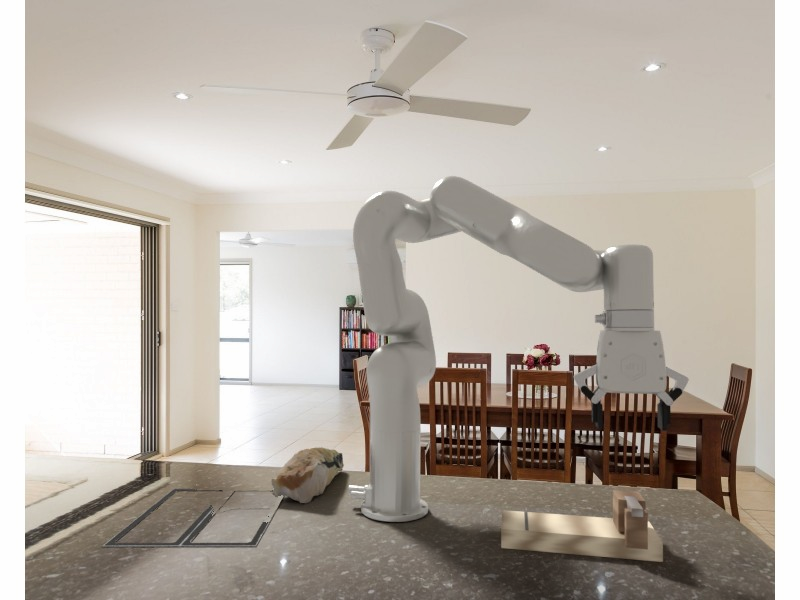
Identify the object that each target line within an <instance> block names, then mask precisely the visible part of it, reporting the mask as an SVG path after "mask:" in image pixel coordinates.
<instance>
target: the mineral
mask: <svg viewBox="0 0 800 600" xmlns="http://www.w3.org/2000/svg"><path fill="white" fill-rule="evenodd" d="M344 466H345V464H344V460H343V453H342V452H338V451H337V450H336V449H329V448H325V447H319V446H318V447H313V448H312V447H311V448H305V449H301V450H299V451H298V452H296V453H294V454H293V456H292V457H290V459H289V460H288V461H287V462H286V463H284V466H282V467H281V468H280V469H278V471H277V473H276V475H275V476H274V478H272V479H271V486H272V489H274V491H271V492H272V493H271V494H272V495H273V496H274V497H275V498H278V496H281V495H283V496H286V497H288V498H290V499H292V500H294V501H297V502H299V503H300V504H301V503H305V504H307V503H310V502H311V501H312V499H313V498H314V497H318V496H319V495H322V494H324V491H325V489H326V487H328V486H329V485H330V484H331V482H332V481H333V479H334V478H335V476H338V474H340V472H338V471H341V472H342V471H343V470H344V469H343V468H344Z"/></svg>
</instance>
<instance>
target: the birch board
mask: <svg viewBox="0 0 800 600" xmlns="http://www.w3.org/2000/svg"><path fill="white" fill-rule="evenodd" d="M501 512H502V513H501V528H500V530H501V533H500V534H501V535H500V541H501V542H500V544H501V545H500V547H501V549H509V550H511V549H512V550H520V551H521V550H523V551H534V552H544V553H545V552H546V553H555V554H556V553H557V554H565V555H566V554H567V555H568V554H569V555H580V556H588V557H589V556H590V557H601V558H603V557H604V558H612V559H623V560H624V559H626V560H636V561H645V562H646V561H648V562H659V563H663V562H664V547H663V546H664V542H663V540H662V539H661V537H660V536H659V534H658V532H657V531H656V530H655V528H654V527H653V525H652V523H651V522H650V521H649V520H648V549H636V548H626V546H625V532H618V530H617V528H616V526H615V524H614V522H613V517H612V518H611V517H601V516H587V515H574V514H559V513H547V512H534V511H533V512H531V511H519V510H504V509H502V510H501Z"/></svg>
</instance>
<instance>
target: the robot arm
mask: <svg viewBox="0 0 800 600" xmlns="http://www.w3.org/2000/svg"><path fill="white" fill-rule="evenodd" d="M352 232H353V233H352V238H353V240H352V241H353V247H354V248H353V249H354V253H355V258H356V263H357V269H358V279H359V286H360V291H361V296H362V297H361V299H362V305H363V311H364V312H363V313H364V317H365V323H366V325H367V326H368V328H369V329H370V331H371V332H373V333H375V334H376V335H379V336H385V337H388V340H389V343H385V344H383V345H381V346H379V347H378V348H376V349H375V350H374V351H373V353H372V354H371V355H370V357H369V359H368V362H367V365H366V381H367V389H368V395H369V396H368V397H369V410H370V411H369V413H370V414H369V415H370V419H369V426H370V427H369V428H370V429H369V431H370V433H369V484H365V485H364V486H359V485H355V484H354V485H353V484H349V485H348V487H347V488H348V489H347V494H348V496H350V499H356V500H361V499H362V501H363V502H361V505H360V511H361V514H363V515H364V516H365V517H366V518H369V519H372V520H375V521H380V522H387V523H388V522H389V523H402V522H411V521H415V520H419V519H421V518H423V517H424V516H426V515H427V514H428V512H429V504H428V503H427V502H426V501H425V500H424V499H421V435H422V433H421V432H422V431H421V407H420V401H419V394H418V388H422V387H423V386H426V385H427V384H428V383H429V382H430V381H431V380H432V379H433V377H434V375H435V374H436V373H435V372H436V370H437V369H436V368H437V356H436V351H435V344H434V339H433V338H434V337H433V332H432V327H431V321H430V320H431V319H430V314H429V310H428V308H427V305H426V303H425V301H424V299H423V298H422V297H421V296H420V294H418V293H417V292H416V291H413V290H411V289H408V288H407V287H406V286H407V285H406V282H405V278H404V272H403V265H402V260H401V256H400V254H399V251H398V248H397V245H396V240H398V241H401V242H405V243H409V244H410V243H411V244H414V243H417V244H418V243H423V242H426V241H430V240H435V239H438V238H442V237H446V236H450V235H453V234H457V233H460V232H462V233H465V234H466V235H468V236H469V237H471V238H473V239H475V240H477V241H478V242H480V243H481V244H483V245H485V246H487V247H489V248H490V249H491V250H494V251H495V252H497V253H499V254H500V255H503V256H508V257H510V258H511V259H514V260H515V261H517V262H519V263H521V264H523V265H524V266H526V267H527V268H529V269H532V270H533V271H535V272H536V273H538V274H540V275H542V276H544V277H545V278H546V279H548V280H550V281H552V282H553V283H555V284H557V285H559V286H560V287H562V288H565V289H566V290H569V291H571V292H575V293H587V292H593V291H600V290H603V311H602V313H600V314H594V323H595V324H600V325H602V326H603V327H604V329H603V330H602V329H601V330H599V334H598V339H597V341H598V342H597V348H596V349H597V350H596V363H595V364H594V365H591V366H590V367H587V368H585V369H584V370H581V371H580V372H577V373H576V374H574V375H573V379H574V382H575V383H576V384H577V385H576V386H577V387H578V388H579V391H580V392H581V393H582V394H583V396H585V397H586V398H587V399H588V400H589V401H590V402H591V423H594V424H595V427H596V428H597V429H598V430H602V429H603V428H604V419H603V418H604V415H603V404H602V403H601V401H602V399H603V398H604V396H606V394H607V393H608V394H609V393H611V394H636V395H637V394H639V395H640V394H641V395H644V394H645V395H655V396H656V397H657V398H658V399H659V402H658V403H657V411H656V412H657V428H659V429H660V430H661V431H663V432H668V426H671V421H672V420H671V416H672V415H671V413H672V412H671V406H673V404H674V402H675V401H677V400H678V398H680V396H682V395H683V392H684V390H685V388H686V386H687V385H688V382H689V380H690V379H689V377H687V376H686V375H684V374H682V373H680V372H679V371H678V372H677V371H676V370H673V369H671V368H670V367H668V366H666V357H665V350H664V344H663V342H664V341H663V338H662V333H661V330H655V298H654V292H655V291H654V255H653V254H654V253H653V251H652V249H651V247H649V246H647V245H643V244H619V245H615V246H610V247H608V248H606V249H605V250H603V249H601V250H598V249H596V250H595V249H594V248H592V247H591V246H589V244H587V243H584V242H583V241H580V240H579V239H577V238H575V237H574V236H571V235H569V234H567V233H565V232H564V231H562V230H561V229H558V228H557V227H554V226H553V225H550V224H549V223H547V222H544V221H543V220H541V219H539V218H538V217H536V216H533V215H531V214H530V213H529V212H528V211H526V210H524V209H523V208H522V207H521V208H520V207H519V206H517V205H515V204H513V203H511V202H509V201H507V200H505V199H504V198H502V197H500V196H498V195H496V194H494V193H492V192H490V191H488V190H486V189H484V188H483V187H481V186H479V185H477V184H475V183H474V182H471V181H470V180H468V179H466V178H463V177H460V176H456V175H449V176H444V177H442V178H441V179H439V180H438V181H437V182H436V183H435V184H434V186H433V187H432V189H431V191H430V196H429V198H425V199H422V200H416V199H414V198H412V197H410V196H409V195H407V194H404V193H402V192H399V191H395V190H383V191H379V192H378V193H375V194H373V195H371V197H369V198H368V199H367V200H366V201H365V202H364V203H363V204H362V206H361V207H360V209H359V210H358V212H357V215H356V217H355V220H354V223H353V228H352ZM593 376H595V382H596V388H595V389H594V390H593V391H592V390H591V389H590V388H589V387H588V386H587V384H586V382H585V381H586V379H588V378H590V377H593ZM667 377H669V378H671V379H672V380H674V382H675V383H674V385H673V387H672V388H671V389H669V391H668V392H666V390H667V383H668V382H667V379H668V378H667Z"/></svg>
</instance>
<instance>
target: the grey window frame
mask: <svg viewBox="0 0 800 600" xmlns="http://www.w3.org/2000/svg"><path fill="white" fill-rule="evenodd" d="M195 489H196V491H195ZM197 489H198V488H172V489H171V490H170V491H169V492H168V493H166V494H165V495H164V496H162V497H161V498H160V499H159V500H158V501H156V502H155V503H154V504H153V505H151V506H150V507H149V508H147V510H145V511H144V512H143V513H141V514H140V515H139V516H137V517H136V518H135V519H134V520H133V521H132V522H130V523H129V524H127V525H126V526H125V527H124V528H123V529H122V530H120V531H119V532H118V533H117V534H115V535H114V536H113V537H111V538H110V539H109V540H107V542H106V543H104V544H103V545H102V548H257V546H258V545H257V544H259V543H260V542H261V539H262V538H263V536H264V534H265V532H266V530H267V529H266V528H268V527H269V525H270V523H269V522H267V523H266V522H263V521H262V522H261V524H260V526H259V527H258V529H257V531H256V532H255V534H254V536H253V537H252V539H251V540H250V541H249V542H248V541H247V542H193V541H194V540H195V539H196V537H198V536H199V534H200V533H201V532H202V531H203V529H205V528H206V526H207V525H208V524H209V522H210V521H211V520H212V519H213V518H214V517H213V516H212V514H213V513H212V511H213V510H214V509H213V510H212V508H213V507H212V505H210V506H209V507H206V508H205V510H203V511H204V512H203V513H202V514H201V513H200V515H199V516H198V517H197V519H195V520H194V522H193V523H191V525H190V526H189V527H188V528H187V529H186V530H185V531H184V532H183V533H182V534H181V536H180V537H178V539H176V541H174V542H118V541H120V540H121V539H122V538H123V537H124V536H125V535H127V534H128V533H129V532H130V531H131V530H133V529H134V528H135V527H136V526H137V525H139V524H140V523H141V522H142V521H143V520H145V519H146V518H147V517H148V516H149V515H151V514H152V513H153V512H154V511H156V510H159V509H158V508H160V506H161V505H163V504H164V503H165V502H166V501H168V500H169V499H170V498H171V497H172V496H173V495H174V494H176V493H177V492H198V491H197ZM189 490H190V491H189ZM192 490H193V491H192ZM176 491H177V492H176ZM175 492H176V493H175ZM170 496H171V497H170ZM169 497H170V498H169ZM164 501H165V502H164ZM163 502H164V503H163ZM157 507H158V508H157ZM211 507H212V508H211ZM156 508H157V509H156ZM155 509H156V510H155ZM151 512H152V513H151ZM213 512H214V511H213ZM211 513H212V514H211ZM145 517H146V518H145ZM212 517H213V518H212ZM268 517H269V516H268ZM211 518H212V519H211ZM271 518H272V517H271ZM210 519H211V520H210ZM272 519H273V518H272ZM209 520H210V521H209ZM207 523H208V524H207ZM206 524H207V525H206ZM268 524H269V525H268ZM267 526H268V527H267ZM201 530H202V531H201ZM200 531H201V532H200ZM264 531H265V532H264ZM199 532H200V533H199ZM263 533H264V534H263ZM262 535H263V536H262ZM261 537H262V538H261Z"/></svg>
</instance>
